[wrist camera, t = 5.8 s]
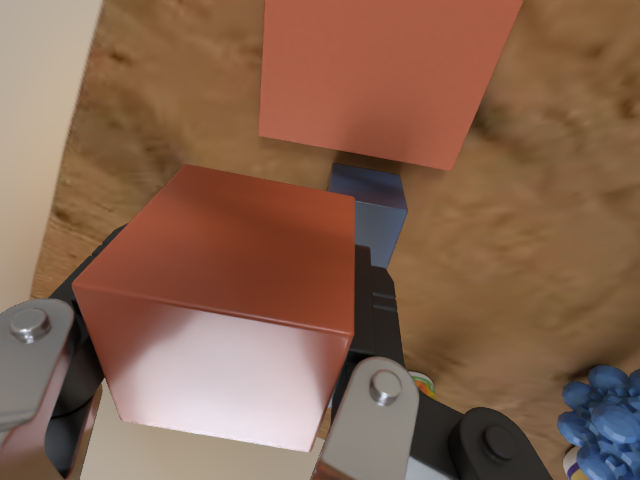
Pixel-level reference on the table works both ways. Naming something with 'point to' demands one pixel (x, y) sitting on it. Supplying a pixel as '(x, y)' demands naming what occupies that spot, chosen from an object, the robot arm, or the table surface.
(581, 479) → the supplement tub
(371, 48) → the terracotta mat
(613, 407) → the grapes
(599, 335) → the table surface
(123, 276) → the terracotta block
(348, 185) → the slate block
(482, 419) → the robot arm
